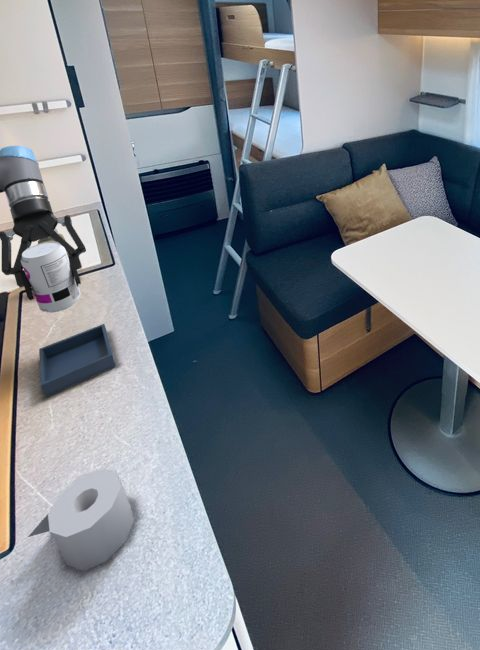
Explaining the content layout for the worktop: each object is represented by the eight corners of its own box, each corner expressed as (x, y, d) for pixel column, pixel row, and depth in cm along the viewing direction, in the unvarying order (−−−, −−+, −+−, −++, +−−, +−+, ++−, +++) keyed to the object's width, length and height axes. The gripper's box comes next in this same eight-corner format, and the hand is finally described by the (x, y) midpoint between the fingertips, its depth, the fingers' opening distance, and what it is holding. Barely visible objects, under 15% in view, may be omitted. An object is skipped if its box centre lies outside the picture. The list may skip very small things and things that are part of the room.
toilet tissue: (45, 527, 66) (27, 494, 63) (137, 492, 71) (125, 459, 68) (26, 595, 59) (4, 561, 55) (130, 551, 63) (116, 517, 60)
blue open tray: (44, 360, 99) (39, 348, 97) (107, 334, 106) (104, 323, 105) (46, 397, 89) (40, 385, 88) (116, 366, 97) (112, 354, 95)
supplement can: (36, 318, 94) (13, 263, 88) (45, 297, 100) (24, 245, 95) (78, 308, 97) (58, 254, 91) (84, 288, 104) (66, 237, 98)
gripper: (83, 198, 108) (109, 276, 103) (-24, 223, 96) (0, 313, 91) (79, 186, 103) (106, 268, 97) (-34, 211, 90) (-10, 306, 85)
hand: (55, 290), depth 94 cm, fingers closed on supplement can, 8 cm apart
